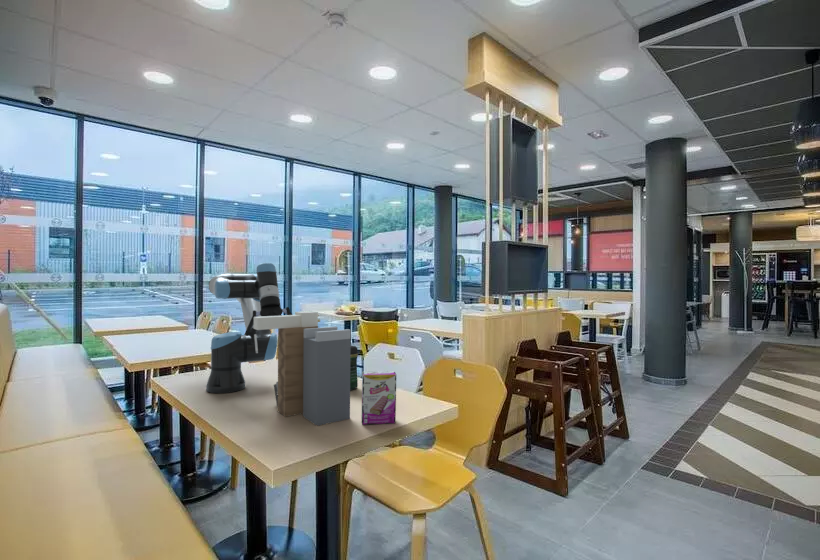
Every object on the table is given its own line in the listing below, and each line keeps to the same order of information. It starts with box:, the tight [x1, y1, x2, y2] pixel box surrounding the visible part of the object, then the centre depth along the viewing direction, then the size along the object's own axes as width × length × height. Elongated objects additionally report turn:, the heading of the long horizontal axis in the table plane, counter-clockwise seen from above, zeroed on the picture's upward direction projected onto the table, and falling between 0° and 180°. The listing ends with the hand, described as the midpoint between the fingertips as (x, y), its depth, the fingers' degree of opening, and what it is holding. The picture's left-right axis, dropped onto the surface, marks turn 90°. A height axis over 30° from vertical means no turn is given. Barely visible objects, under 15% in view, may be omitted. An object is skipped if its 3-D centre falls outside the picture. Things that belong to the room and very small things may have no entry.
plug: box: [254, 310, 321, 330], centre depth 150 cm, size 6×22×5 cm, turn 127°
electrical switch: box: [273, 381, 278, 406], centre depth 161 cm, size 9×5×9 cm, turn 141°
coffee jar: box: [350, 345, 359, 391], centre depth 183 cm, size 10×8×19 cm
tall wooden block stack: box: [277, 325, 319, 417], centre depth 152 cm, size 7×12×30 cm, turn 127°
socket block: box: [302, 326, 352, 426], centre depth 145 cm, size 11×12×30 cm
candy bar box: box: [360, 370, 397, 426], centre depth 141 cm, size 11×5×16 cm, turn 99°
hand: (275, 349), depth 162 cm, fingers open, 13 cm apart
